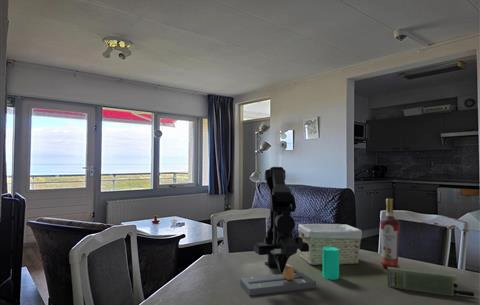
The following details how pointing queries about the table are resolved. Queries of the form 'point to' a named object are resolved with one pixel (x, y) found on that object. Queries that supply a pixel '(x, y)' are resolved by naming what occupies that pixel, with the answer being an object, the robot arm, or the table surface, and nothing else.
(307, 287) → the fader panel
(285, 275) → the fader knob
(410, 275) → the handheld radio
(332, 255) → the candle
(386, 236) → the liquor
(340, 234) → the storage basket
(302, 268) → the table surface
